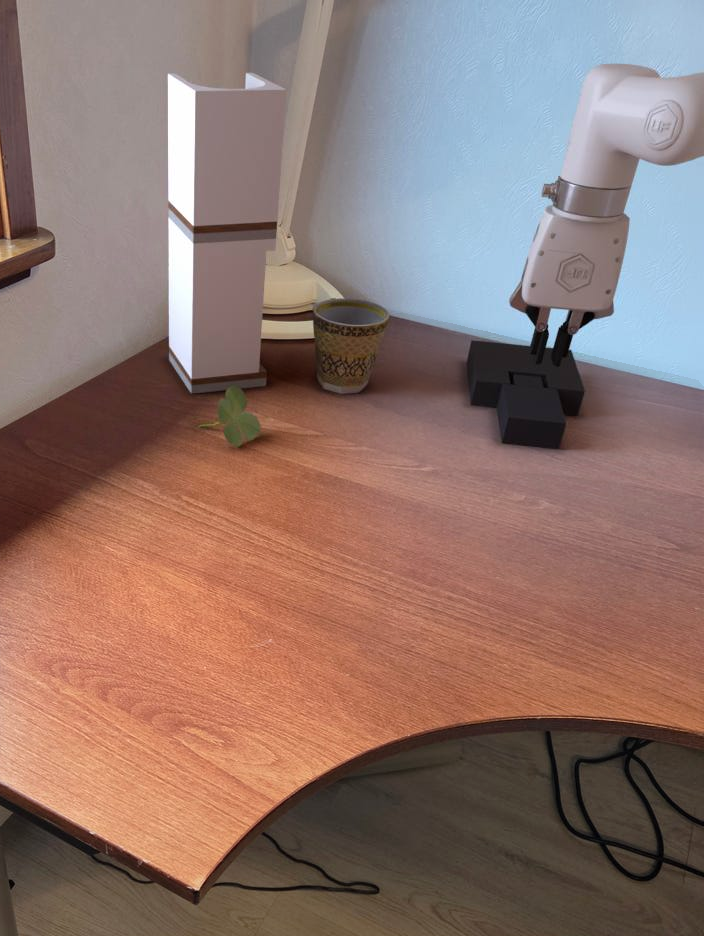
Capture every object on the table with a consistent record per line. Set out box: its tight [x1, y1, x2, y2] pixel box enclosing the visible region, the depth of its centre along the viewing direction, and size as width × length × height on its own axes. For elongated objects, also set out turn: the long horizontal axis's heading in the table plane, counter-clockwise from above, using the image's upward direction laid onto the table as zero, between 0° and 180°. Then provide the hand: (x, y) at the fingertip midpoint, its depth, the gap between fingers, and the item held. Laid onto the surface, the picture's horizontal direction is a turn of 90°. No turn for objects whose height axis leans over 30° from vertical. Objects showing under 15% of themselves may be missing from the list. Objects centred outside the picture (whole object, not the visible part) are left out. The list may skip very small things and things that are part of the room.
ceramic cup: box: [312, 297, 390, 395], centre depth 122 cm, size 13×10×10 cm
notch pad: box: [465, 340, 586, 417], centre depth 124 cm, size 14×14×4 cm
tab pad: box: [496, 374, 567, 450], centre depth 116 cm, size 7×13×4 cm, turn 171°
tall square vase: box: [167, 72, 287, 394], centre depth 114 cm, size 11×11×35 cm
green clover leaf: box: [198, 386, 261, 448], centre depth 111 cm, size 7×8×7 cm
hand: (545, 360), depth 110 cm, fingers closed
